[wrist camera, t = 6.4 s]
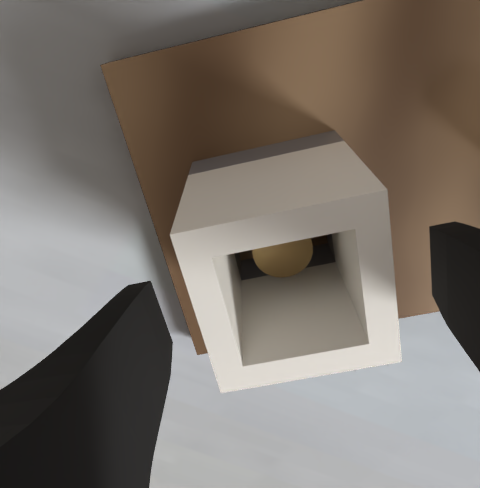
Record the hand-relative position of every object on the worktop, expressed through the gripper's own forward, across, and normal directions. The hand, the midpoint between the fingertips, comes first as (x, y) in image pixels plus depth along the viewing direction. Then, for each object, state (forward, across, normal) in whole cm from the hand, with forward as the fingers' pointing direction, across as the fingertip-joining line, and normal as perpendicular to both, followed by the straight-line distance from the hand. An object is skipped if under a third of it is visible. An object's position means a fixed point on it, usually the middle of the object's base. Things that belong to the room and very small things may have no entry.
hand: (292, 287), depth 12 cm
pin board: (+6, -4, 0) cm, 8 cm away
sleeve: (+6, 0, 0) cm, 6 cm away
